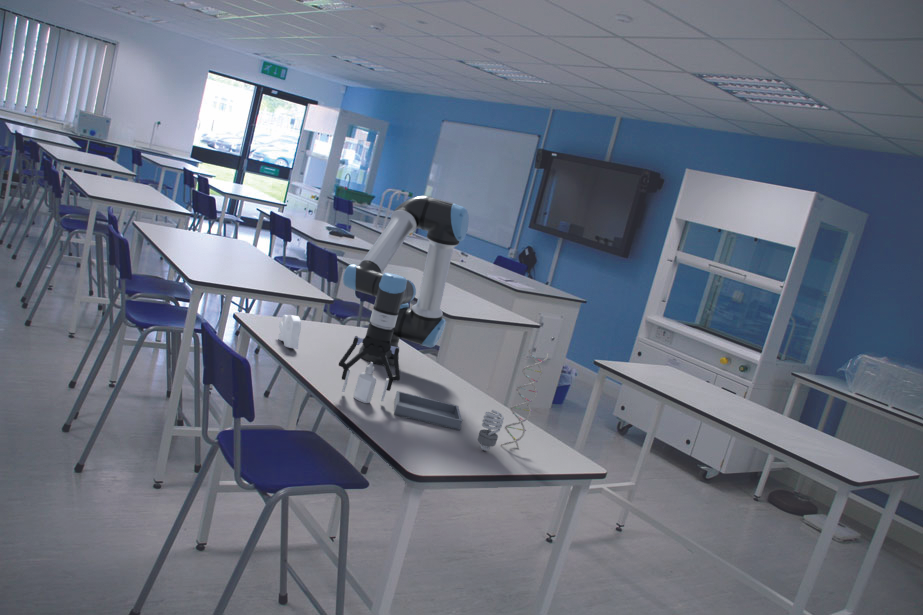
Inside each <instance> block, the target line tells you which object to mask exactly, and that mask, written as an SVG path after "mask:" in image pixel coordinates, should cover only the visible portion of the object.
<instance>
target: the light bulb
mask: <svg viewBox="0 0 923 615" xmlns="http://www.w3.org/2000/svg"><path fill="white" fill-rule="evenodd" d="M484 414H485V415H484V416H483V419H482V420H481V421H482V423H481V426H482V427H483V429H481V430H480V431H479V432H478V438H477V441H478V443H479V444H480V449H481V450H482V451H483V452H486V451H487V452H488V451H489V450H490V447H491V448H492V447H495V446H496V443H497V440H498V438H499V436H498V434H497V433H499V432H500V431H501V428H502V427H503V424H504V419H505V418H504V417H505V416H504V415H503V414H502V413H501V412H499V411H498V410H495V409H491V411H490V412H489V411H485V412H484ZM484 428H485V429H484Z"/></svg>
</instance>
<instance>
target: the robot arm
mask: <svg viewBox="0 0 923 615" xmlns="http://www.w3.org/2000/svg"><path fill="white" fill-rule="evenodd" d="M469 220H470V218H469V212H468V209H467V208H466V207H465V206H462V205H458V204H457V203H454V202H450V201H447V200H444V199H443V200H442V199H439V198H435V197H432V196H430V195H418V196H415V197H411V198H409V199H407V200H404V201H403V202H402V203H400V204H399V205H398V206H397V207H396V208H395V209H394V210H393V211H392V213H391V214H390V221H389V222H388V224H387V225H386V227H385V228H384V229H383V231H382V232H381V234H380V235H379V237H378V238H377V239H376V241H375V242H374V244H373V245H371V246H372V247H370V248H369V251H368V252H367V253H366V255H365V256H364V258H363V259H362V260H361V262H360V263H359V264H353V263H351V264H349V265H348V266H347V267H346V268H345V270H344V273H343V278H342V281H343V285H344V287H346V288H348V289H351V290H353V291H355V292H356V291H357V292H359V293H363V294H365V295H366V294H367V295H370V296H372V297H375V301H374V304H373V308H372V311H371V316H370V319H369V321H370V323H368V326H367V331H366V334H365V337H364V338H362V337H359V336H357V335H355V336H353V341H352V344H351V345H350V346H349V348H348V349H347V351H346V352H345V354H344V355H343V356H342V358H341V359H340V360H339V362H338V367H341V368H342V369H343V371H342V374H341V380H343V381H344V382H343V386H342V390H341V392H343V393H345V392H346V388H347V386H348V385H347V384H348V380H349V377H350V373H351V367H352V366H353V365H355V364H356V363H357V362H358V361H360V359H362V360H366V361H368V362H370V363H371V362H373V364H377V365H382V366H384V368H385V371H386V375H387V377H388V378H387V377H386V379H385V382H384V386H383V390H382V392H381V397H380V401H381V402H384V400H385V397H386V394H387V392H390V391H391V388H392V385H393V382H395V381H397V382H398V381H400V380H401V375H400V374H401V373H400V364H399V363H400V362H399V361H400V360H399V359H400V358H399V356H400V355H399V353H400V347H399V341H400V339H402V340H405V341H409V342H411V343H414V344H417V345H420V346H424V347H427V348H433V347H435V346H436V345H437V343H438V342H439V340H440V338H441V336H442V334H443V332H444V329H445V327H446V323H447V320H446V319H445V318H443V315H444V314H443V311H442V309H441V305H442V300H443V296H444V292H445V286H446V284H447V283H446V282H447V280H448V275H449V274H448V273H449V270H450V265H451V262H452V261H451V260H452V257H453V251H454V248H456V247H457V246H459V244H460V242H462V241H464V240H465V238H466V236H467V233H468V229H469V222H470V221H469ZM416 229H418V230H419V229H420V230H422V231H426V232H427V233H426V239H427V240H428V242H429V246H428V249H427V254H426V259H425V264H424V268H423V269H424V270H423V273H422V278H421V284H420V286H419V287H420V288H419V291H418V297H417V301H416V303H414V305H412V306H411V308H410V306H409V305H410V304H409V303H410V302H411V301H413V300H414V298H415V297H416V294H417V288H416V285H415V284H414V282H412V280H410V279H407V277H404V276H402V275H399V274H396V273H391V272H384V271H385V270H386V268H387V267H388V266H389V264H390V262H392V260H393V258H394V256H396V253H397V252H398V251H399V249H400V247H401V246H402V245H403V243H404V242H405V241H406V239H407V238H408V236H409V235H410V234H412V233H414V232H415V231H416ZM361 343H362V345H361V346H360V347H359V350H358V353H357V354H356V355H355V356H353V358H352V359H350V360H349V361H348V362H346V361H347V360H348V358H350V356H351V354H352V353H353V351H354V350H355V349H356V347H357V346H359V345H360V344H361ZM392 366H393V367H394V373H395V374H393V371H392V369H391V367H392Z"/></svg>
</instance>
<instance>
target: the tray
mask: <svg viewBox="0 0 923 615" xmlns="http://www.w3.org/2000/svg"><path fill="white" fill-rule="evenodd" d="M393 404H394V405H393V415H394V416H398V417H403V418H407V419H410V420H413V421H418V422H423V423H427V424H432V425H435V426H439V427H444V428H448V429H451V430H456V431H460V430H461V427H462V424H463V418H462V415H461V411H460V408H459V405H456V404H451V403H450V402H449V403H447V402H445V401H440V400H436V399H433V398H427V397H425V396H420V395H415V394H412V393H407V392H404V391H400V390H396V393H395V397H394V402H393Z"/></svg>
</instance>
